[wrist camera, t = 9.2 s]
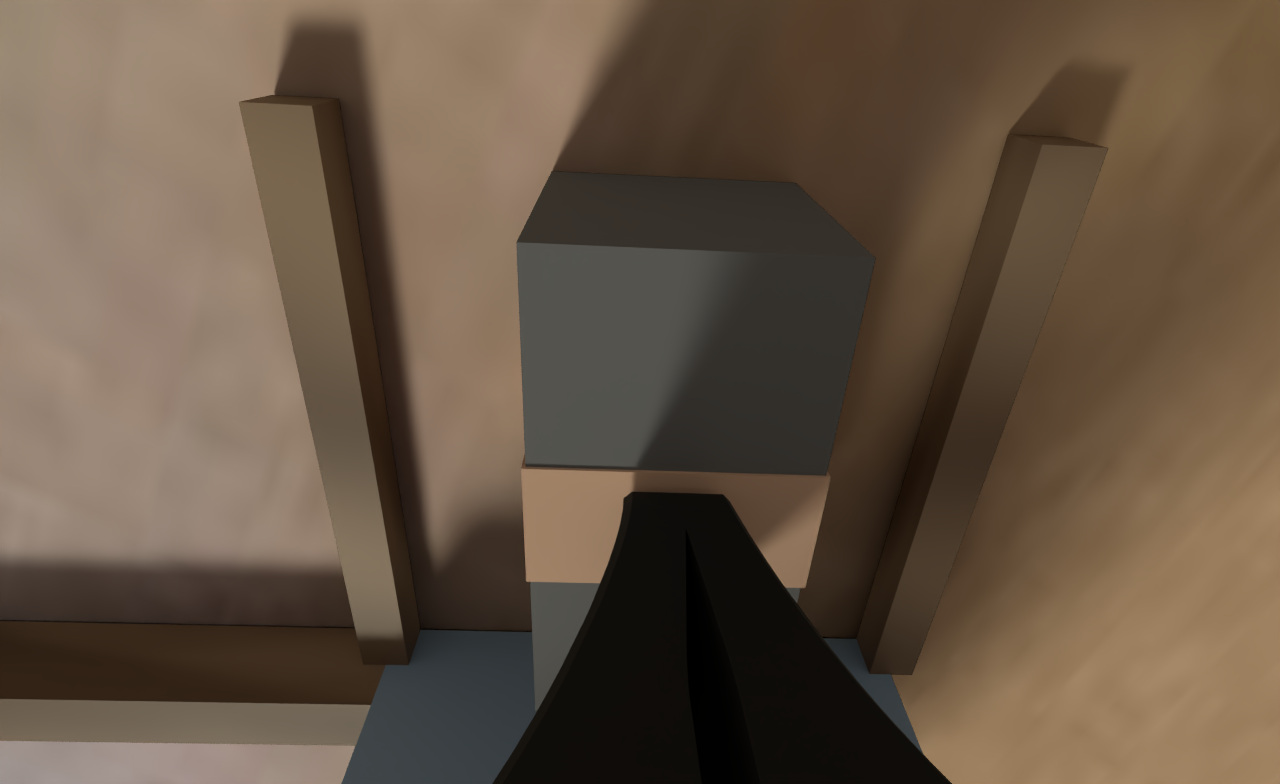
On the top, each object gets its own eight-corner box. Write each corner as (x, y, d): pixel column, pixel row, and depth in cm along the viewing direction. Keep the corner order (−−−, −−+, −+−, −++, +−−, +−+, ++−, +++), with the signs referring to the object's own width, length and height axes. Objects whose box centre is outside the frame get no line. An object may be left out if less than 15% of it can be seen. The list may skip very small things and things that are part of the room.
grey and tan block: (739, 550, 15) (775, 717, 11) (554, 545, 15) (532, 713, 11) (798, 182, 11) (881, 259, 7) (549, 170, 11) (511, 243, 7)
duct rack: (882, 680, 17) (962, 884, 13) (-100, 662, 16) (-342, 877, 12) (1068, 137, 11) (1336, 207, 7) (-537, 52, 10) (-1363, 72, 6)
